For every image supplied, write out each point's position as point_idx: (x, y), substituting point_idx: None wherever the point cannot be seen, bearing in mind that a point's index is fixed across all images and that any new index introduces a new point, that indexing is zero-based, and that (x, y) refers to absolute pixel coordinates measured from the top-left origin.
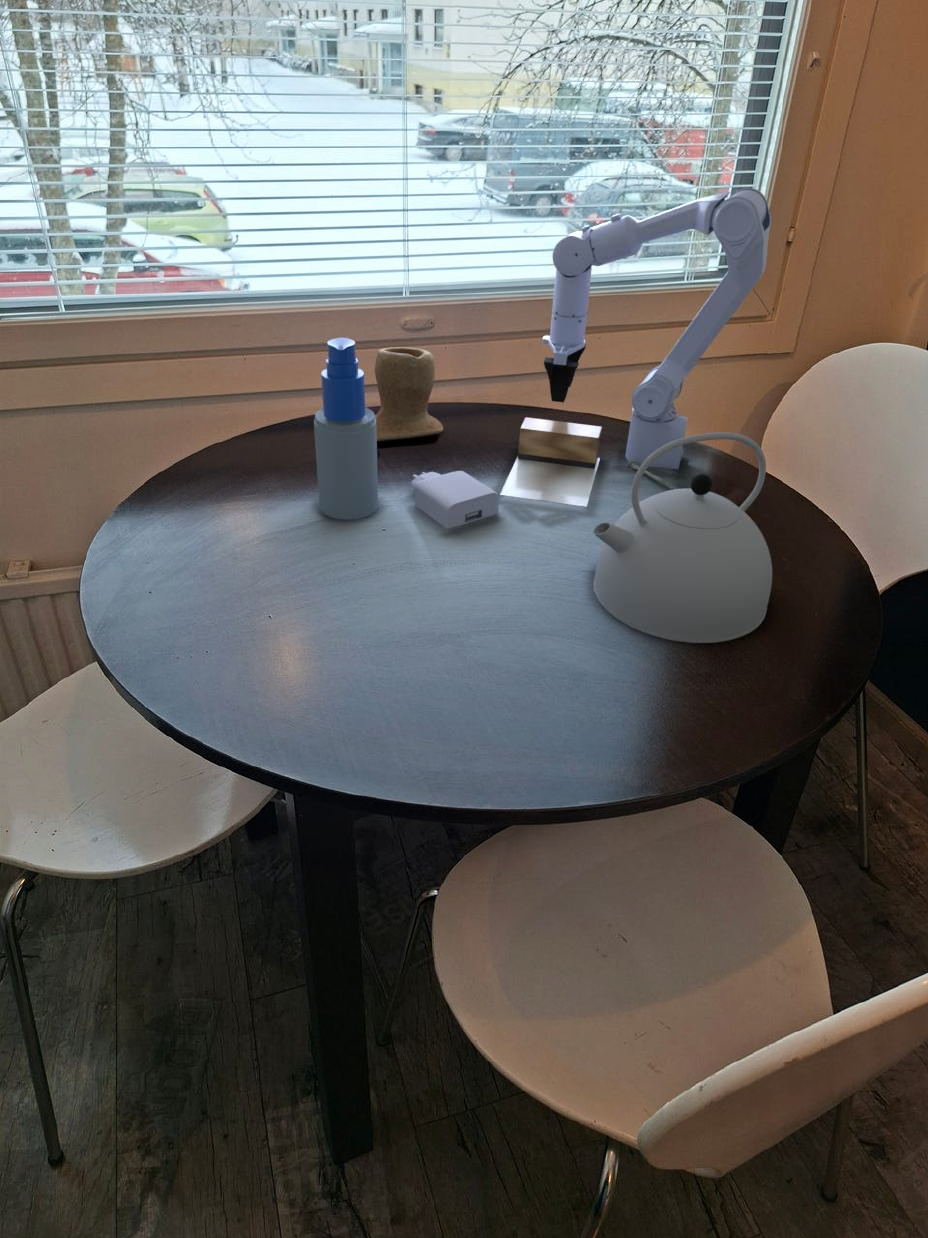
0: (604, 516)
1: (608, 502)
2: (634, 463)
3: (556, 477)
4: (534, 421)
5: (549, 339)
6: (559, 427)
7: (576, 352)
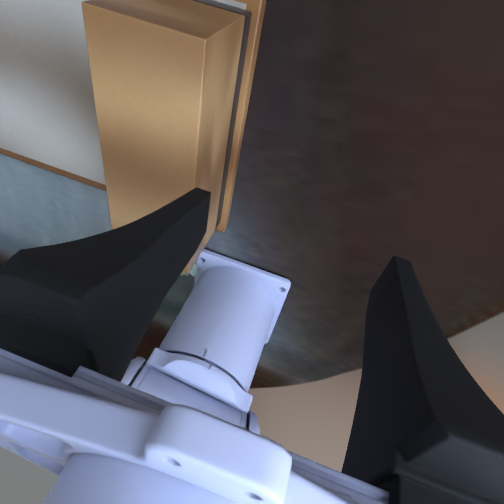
0: (9, 168)
1: (60, 187)
2: (184, 274)
3: (82, 102)
4: (169, 79)
5: (152, 466)
6: (143, 165)
7: (354, 454)
